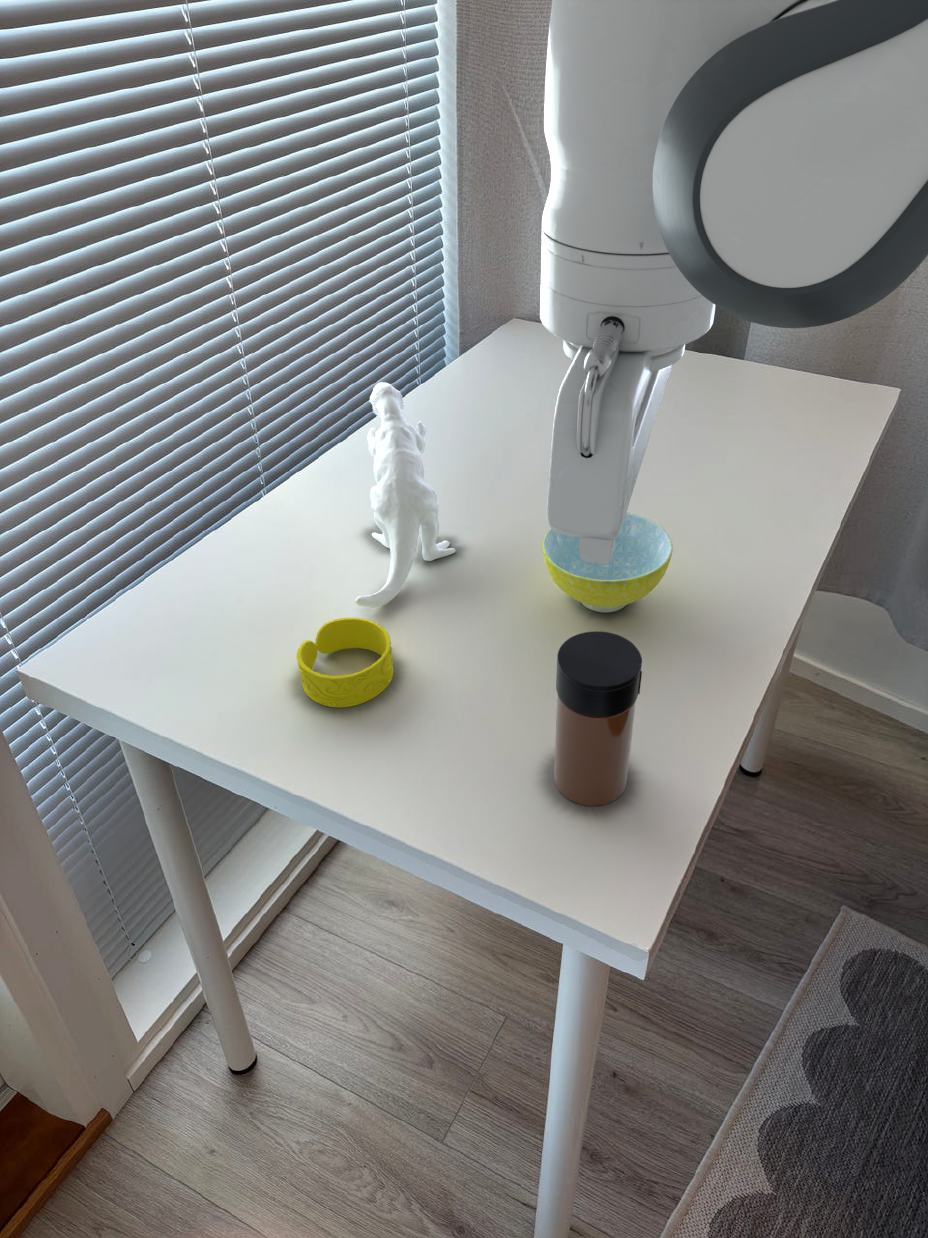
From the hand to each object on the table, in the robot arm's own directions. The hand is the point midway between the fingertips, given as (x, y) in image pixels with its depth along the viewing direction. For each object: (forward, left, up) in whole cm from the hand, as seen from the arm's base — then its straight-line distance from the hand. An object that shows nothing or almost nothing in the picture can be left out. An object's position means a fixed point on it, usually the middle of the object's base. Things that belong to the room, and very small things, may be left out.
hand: (609, 517), depth 57 cm
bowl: (+3, -22, -23) cm, 32 cm away
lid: (0, 0, -12) cm, 12 cm away
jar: (0, 0, -23) cm, 23 cm away
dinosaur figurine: (+23, -23, -23) cm, 40 cm away
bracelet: (+22, -6, -23) cm, 33 cm away
